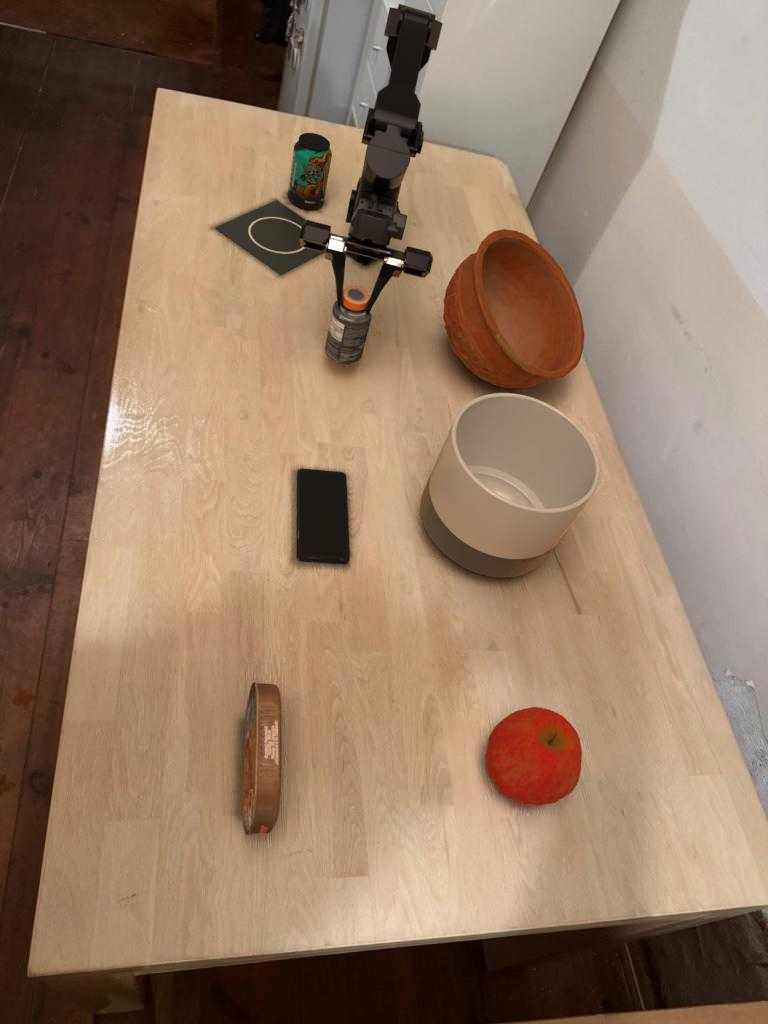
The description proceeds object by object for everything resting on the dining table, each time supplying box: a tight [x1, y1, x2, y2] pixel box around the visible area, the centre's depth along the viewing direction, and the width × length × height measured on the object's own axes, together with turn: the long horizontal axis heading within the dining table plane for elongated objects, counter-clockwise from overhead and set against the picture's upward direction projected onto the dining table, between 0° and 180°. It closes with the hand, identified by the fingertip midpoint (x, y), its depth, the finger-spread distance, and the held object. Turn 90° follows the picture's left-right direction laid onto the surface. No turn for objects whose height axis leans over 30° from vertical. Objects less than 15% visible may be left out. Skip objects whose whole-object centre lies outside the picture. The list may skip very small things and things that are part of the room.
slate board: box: [214, 199, 326, 276], centre depth 135 cm, size 16×16×1 cm
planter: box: [420, 392, 601, 578], centre depth 98 cm, size 19×19×18 cm
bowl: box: [442, 228, 585, 390], centre depth 121 cm, size 25×25×15 cm
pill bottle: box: [324, 285, 373, 366], centre depth 111 cm, size 6×6×11 cm
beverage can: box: [287, 132, 333, 211], centre depth 140 cm, size 7×7×12 cm
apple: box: [485, 706, 583, 806], centre depth 81 cm, size 10×10×10 cm
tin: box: [242, 681, 283, 836], centre depth 76 cm, size 15×3×8 cm, turn 5°
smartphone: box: [296, 468, 351, 564], centre depth 100 cm, size 7×1×15 cm
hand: (352, 310), depth 107 cm, fingers closed on pill bottle, 4 cm apart
